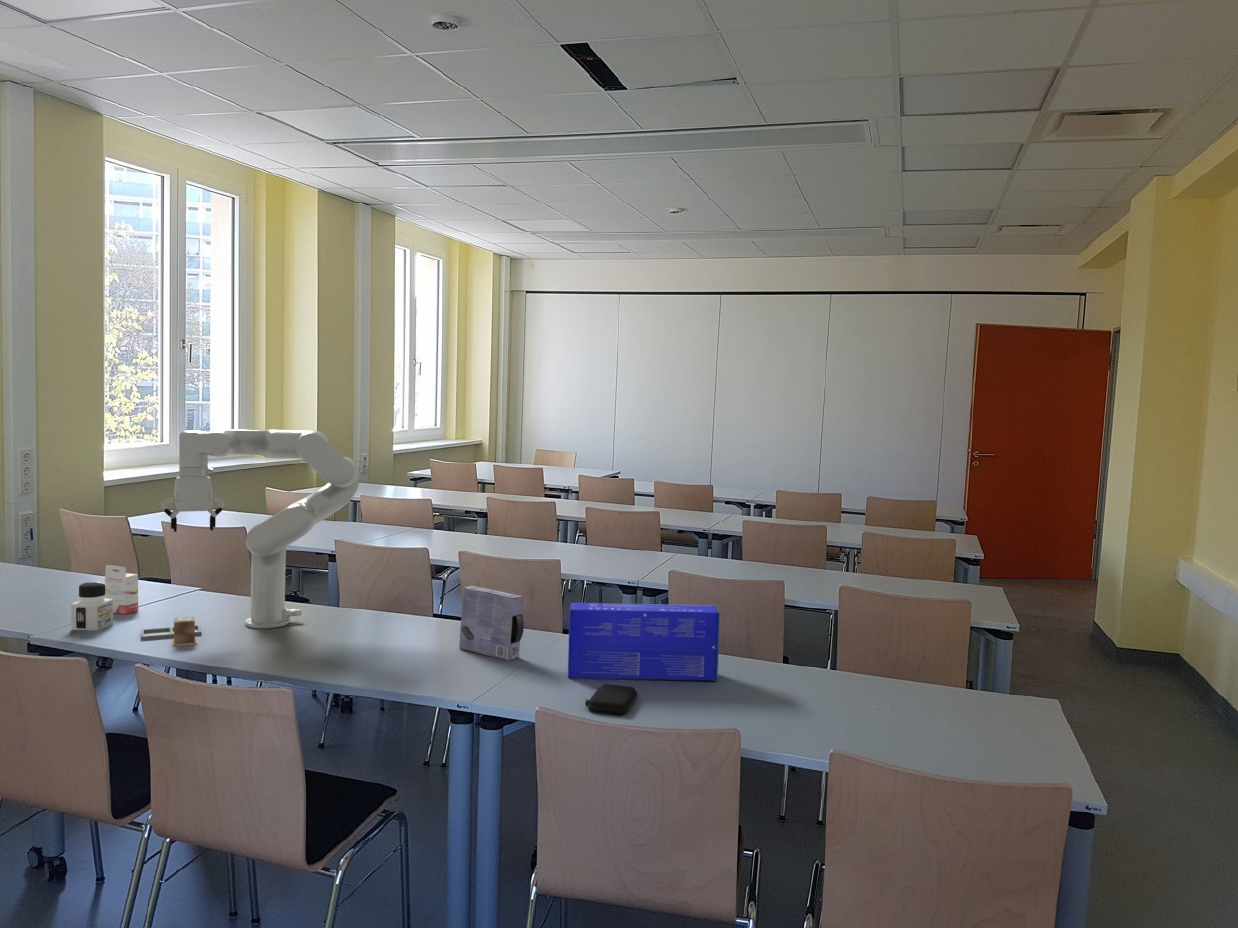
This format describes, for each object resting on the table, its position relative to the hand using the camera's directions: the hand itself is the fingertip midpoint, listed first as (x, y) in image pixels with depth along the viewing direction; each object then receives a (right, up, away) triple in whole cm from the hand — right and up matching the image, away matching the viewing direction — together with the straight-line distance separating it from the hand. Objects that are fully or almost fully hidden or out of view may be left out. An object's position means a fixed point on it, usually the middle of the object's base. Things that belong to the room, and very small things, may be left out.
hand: (193, 530), depth 258 cm
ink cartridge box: (-29, -26, +14) cm, 41 cm away
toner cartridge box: (+131, -36, -28) cm, 139 cm away
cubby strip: (-2, -29, -9) cm, 30 cm away
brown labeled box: (+5, -29, -16) cm, 34 cm away
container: (-27, -28, -5) cm, 39 cm away
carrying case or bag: (+123, -38, -50) cm, 138 cm away
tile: (+5, -30, -16) cm, 34 cm away
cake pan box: (+89, -33, -14) cm, 97 cm away
